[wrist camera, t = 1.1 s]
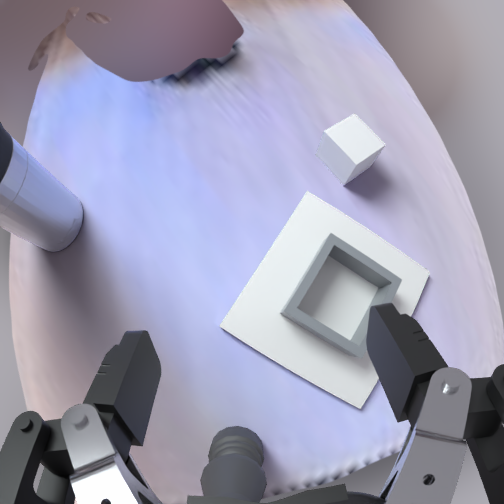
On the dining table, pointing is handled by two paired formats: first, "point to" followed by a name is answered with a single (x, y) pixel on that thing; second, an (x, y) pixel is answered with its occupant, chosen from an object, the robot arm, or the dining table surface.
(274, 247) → the collar board
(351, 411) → the dining table surface
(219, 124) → the dining table surface
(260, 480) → the candle holder
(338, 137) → the white cube
